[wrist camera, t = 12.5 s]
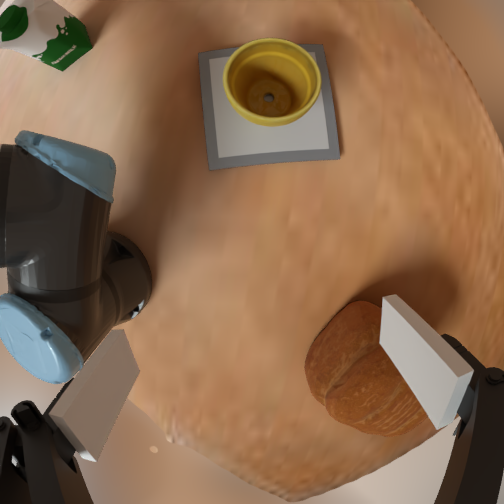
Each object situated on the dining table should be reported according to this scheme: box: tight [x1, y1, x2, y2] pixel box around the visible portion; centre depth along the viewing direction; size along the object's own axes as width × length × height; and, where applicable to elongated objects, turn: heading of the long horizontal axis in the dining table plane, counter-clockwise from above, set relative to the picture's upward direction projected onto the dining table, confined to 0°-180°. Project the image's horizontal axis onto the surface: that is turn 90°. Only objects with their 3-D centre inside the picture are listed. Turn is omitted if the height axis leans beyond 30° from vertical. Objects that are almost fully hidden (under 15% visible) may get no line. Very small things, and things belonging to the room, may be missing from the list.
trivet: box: [198, 44, 340, 171], centre depth 35 cm, size 18×18×2 cm
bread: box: [305, 301, 428, 437], centre depth 38 cm, size 18×21×17 cm
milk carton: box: [0, 0, 92, 71], centre depth 22 cm, size 9×9×20 cm
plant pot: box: [223, 38, 322, 127], centre depth 30 cm, size 10×10×10 cm
